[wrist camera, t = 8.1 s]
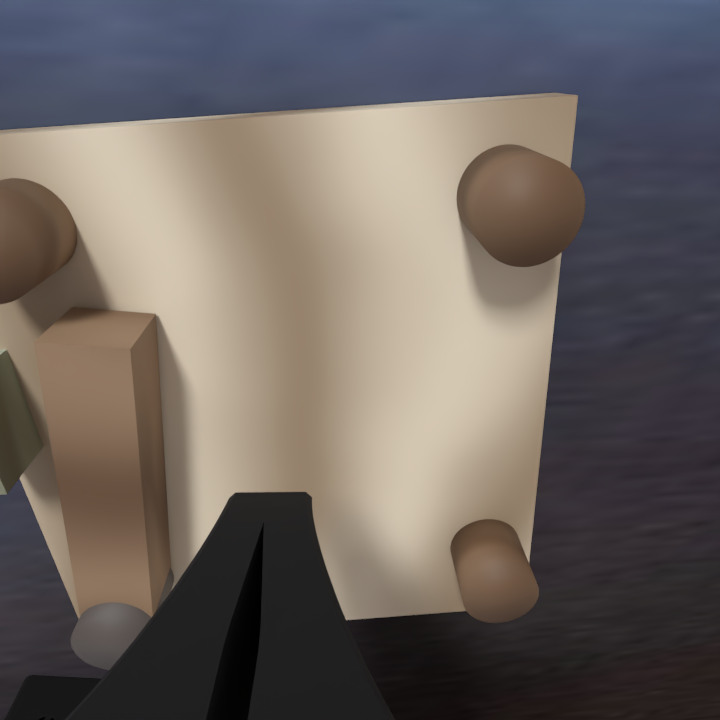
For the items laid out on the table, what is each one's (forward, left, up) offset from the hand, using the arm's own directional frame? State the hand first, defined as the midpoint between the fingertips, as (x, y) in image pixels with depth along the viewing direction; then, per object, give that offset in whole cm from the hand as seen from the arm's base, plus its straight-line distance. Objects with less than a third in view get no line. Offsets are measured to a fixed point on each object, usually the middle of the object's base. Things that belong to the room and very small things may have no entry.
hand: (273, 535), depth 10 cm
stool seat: (-1, -2, -7) cm, 7 cm away
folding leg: (-5, -3, -6) cm, 8 cm away
